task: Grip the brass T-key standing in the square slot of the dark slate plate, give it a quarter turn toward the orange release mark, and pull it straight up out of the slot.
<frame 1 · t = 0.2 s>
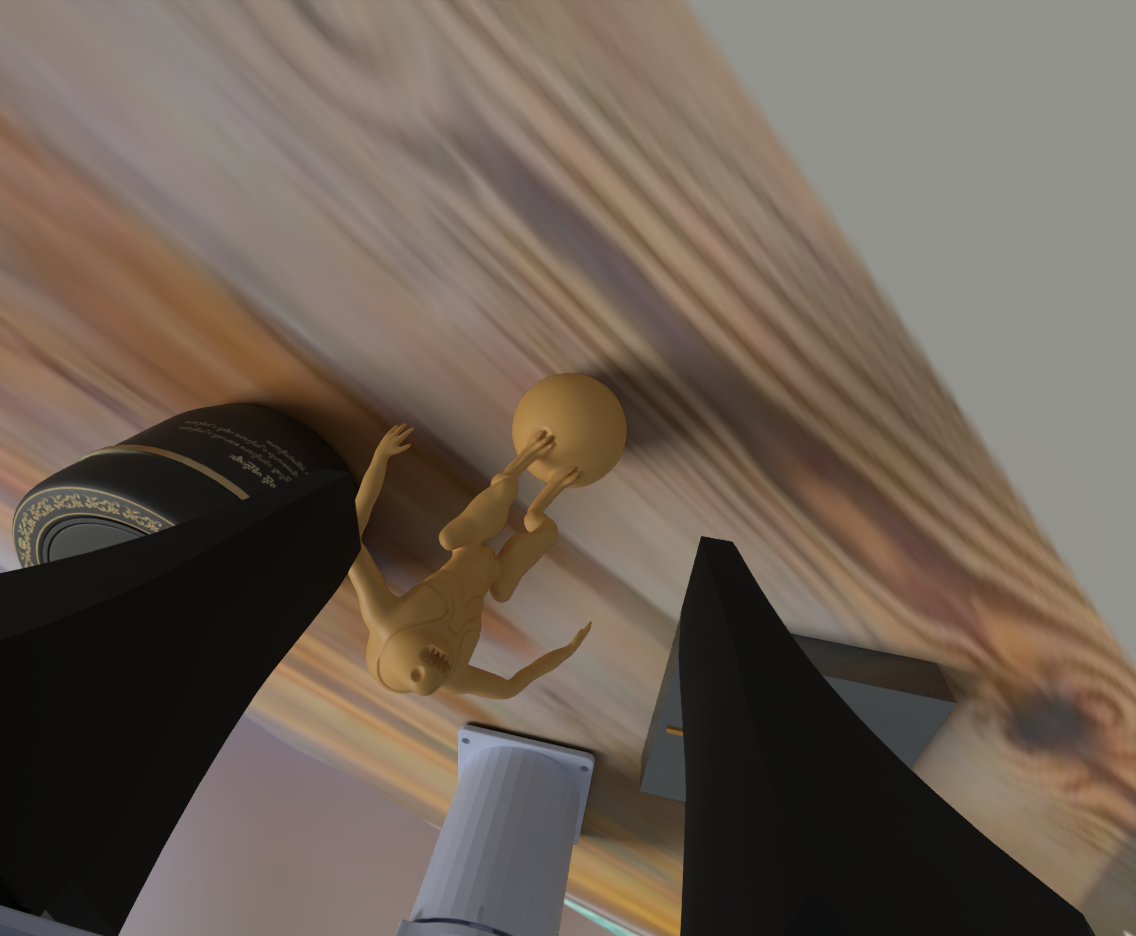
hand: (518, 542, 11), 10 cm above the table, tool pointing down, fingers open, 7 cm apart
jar: (280, 487, 26), on the table
figurine: (558, 417, 21), on the table, touching gripper
key plate: (770, 715, 27), on the table
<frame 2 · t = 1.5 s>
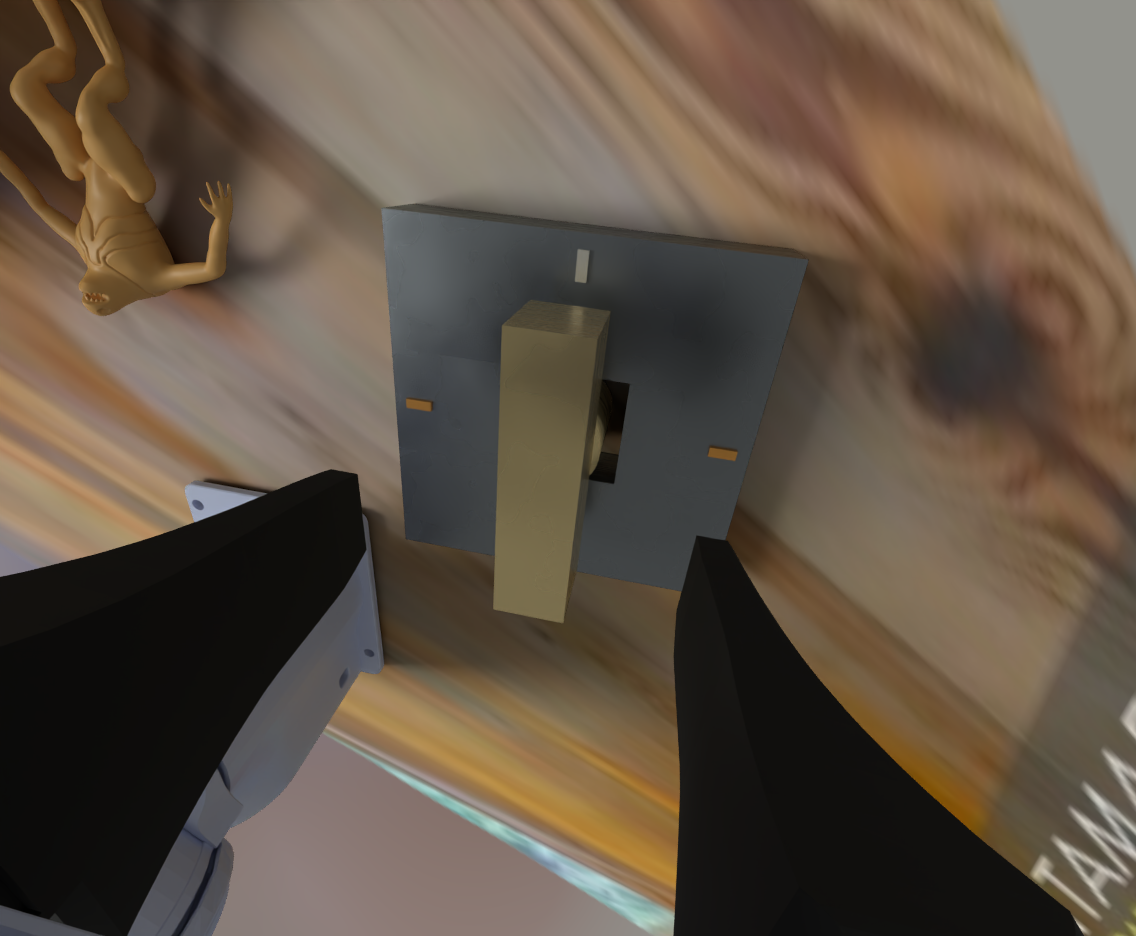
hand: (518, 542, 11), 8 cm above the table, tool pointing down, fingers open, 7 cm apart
t key: (560, 441, 16), in the key plate
key plate: (577, 403, 18), on the table
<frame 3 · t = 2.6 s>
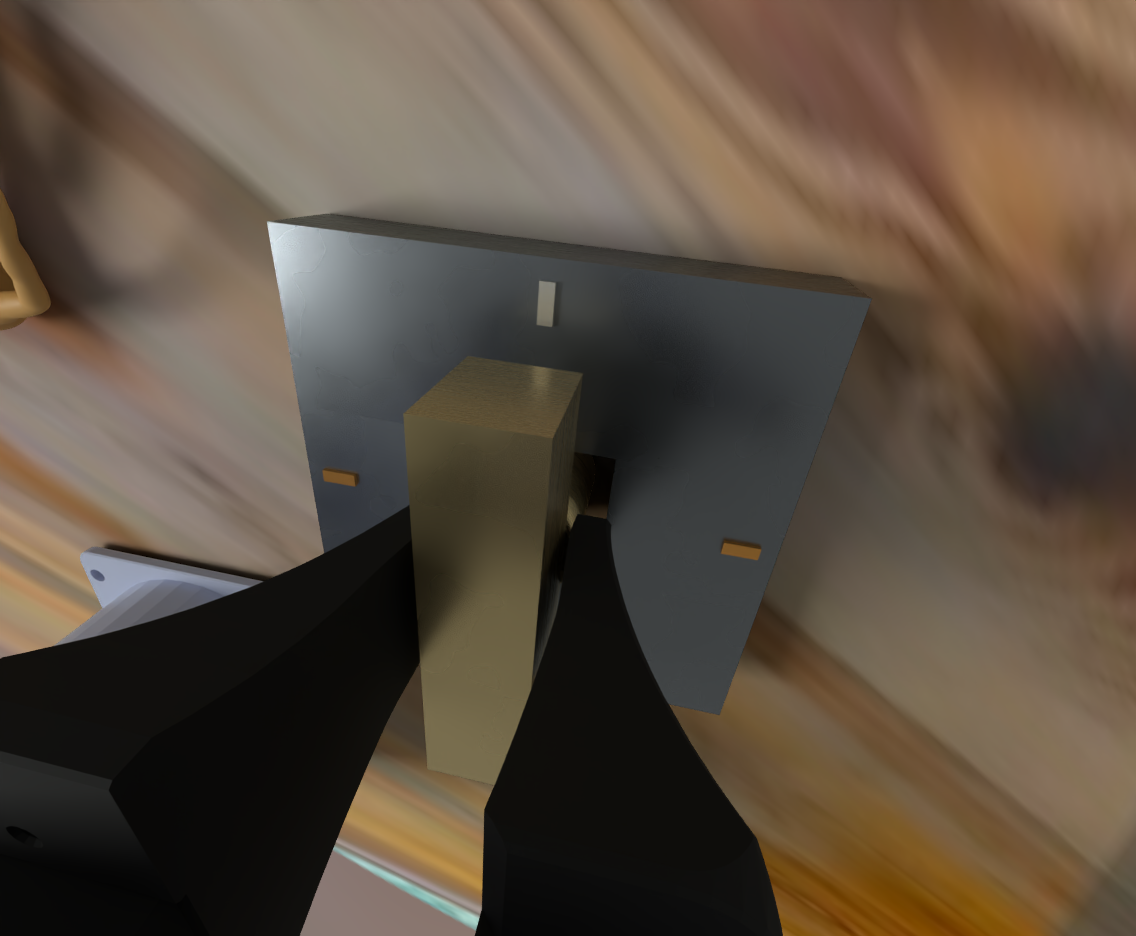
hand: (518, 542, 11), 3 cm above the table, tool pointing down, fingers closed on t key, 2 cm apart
t key: (521, 536, 12), in the key plate, touching gripper
key plate: (550, 469, 14), on the table
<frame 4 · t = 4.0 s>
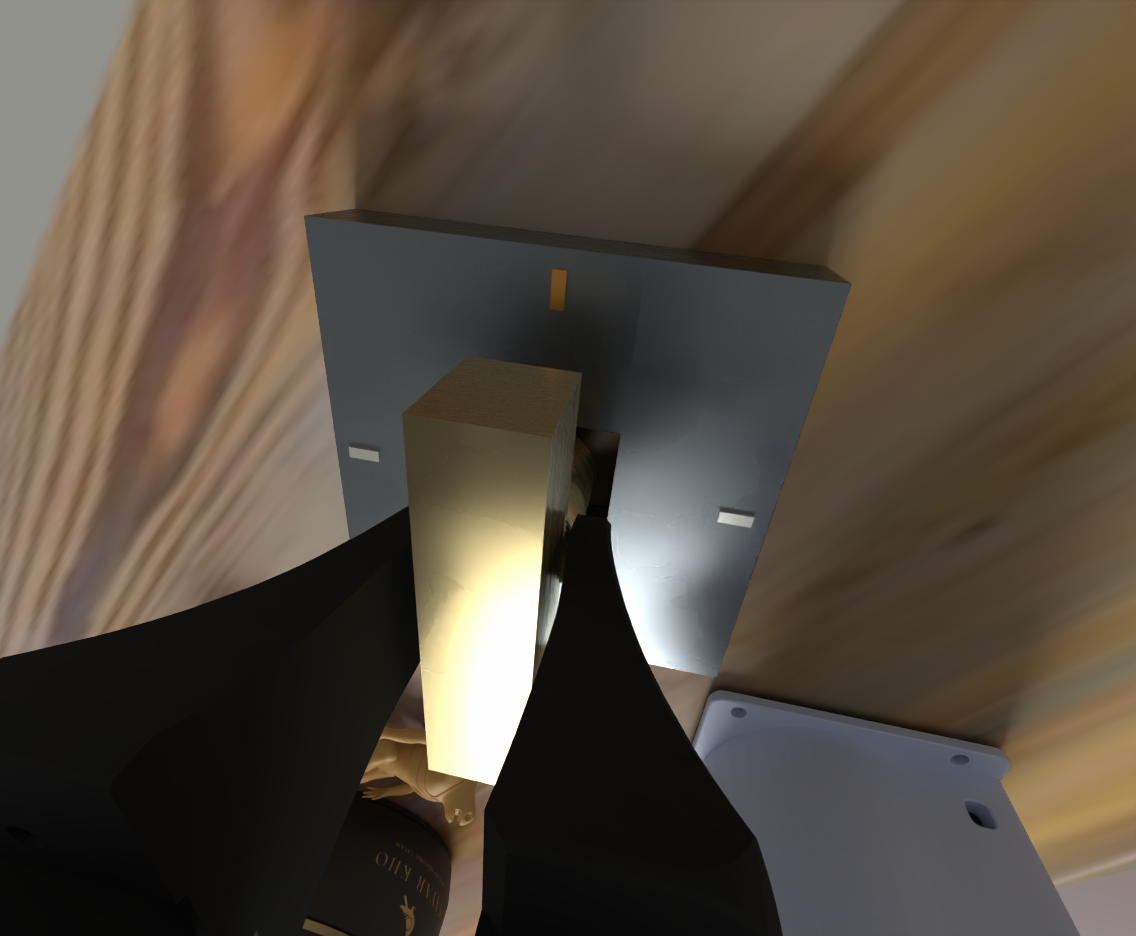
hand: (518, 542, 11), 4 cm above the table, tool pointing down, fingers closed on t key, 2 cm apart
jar: (374, 833, 29), on the table
figurine: (214, 673, 22), point 1 cm above the table
t key: (521, 536, 12), point 4 cm above the table, touching gripper
key plate: (558, 447, 15), on the table
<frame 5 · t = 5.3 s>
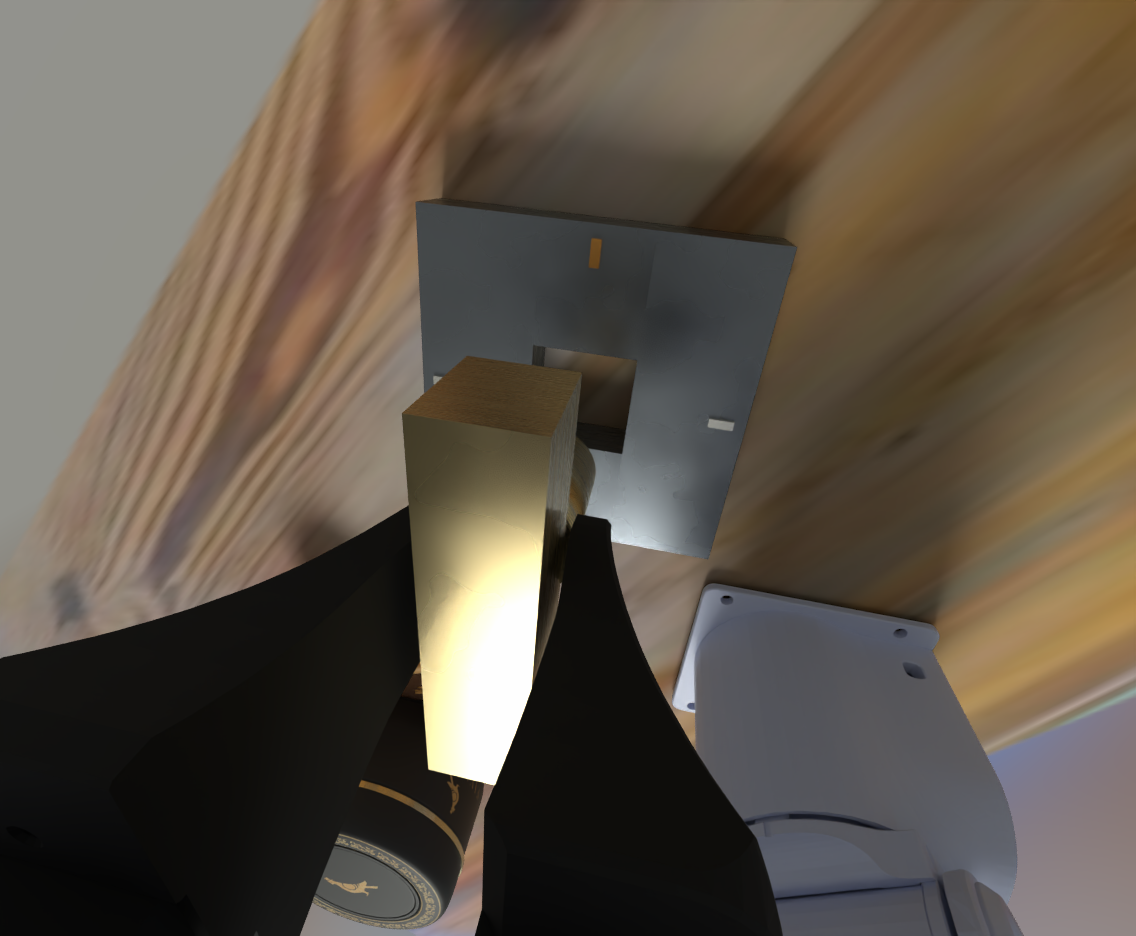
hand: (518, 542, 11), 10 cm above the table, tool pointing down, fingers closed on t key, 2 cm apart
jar: (417, 739, 33), on the table
t key: (521, 536, 12), point 10 cm above the table, touching gripper
key plate: (588, 381, 20), on the table
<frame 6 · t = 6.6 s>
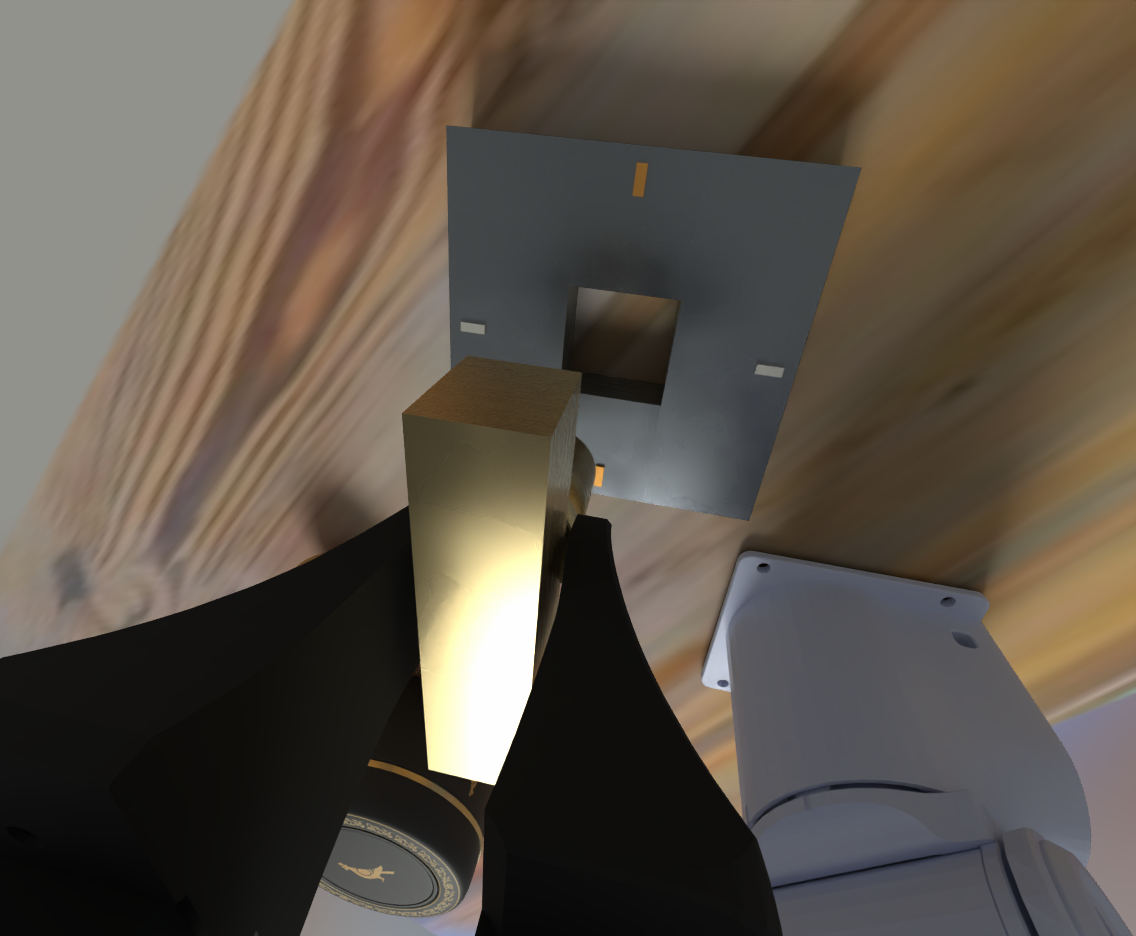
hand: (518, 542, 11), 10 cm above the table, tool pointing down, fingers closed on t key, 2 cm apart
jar: (432, 723, 32), on the table
t key: (521, 536, 12), point 10 cm above the table, touching gripper
key plate: (622, 331, 19), on the table
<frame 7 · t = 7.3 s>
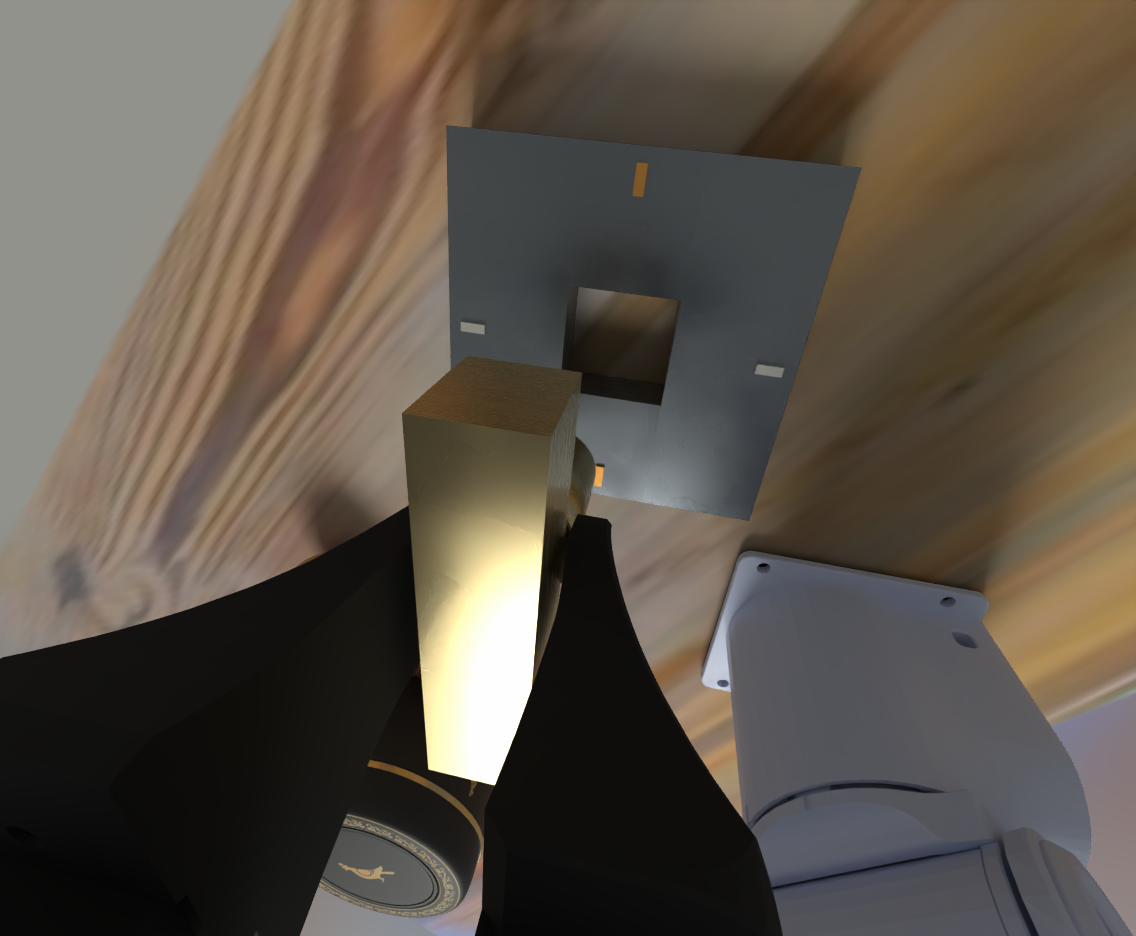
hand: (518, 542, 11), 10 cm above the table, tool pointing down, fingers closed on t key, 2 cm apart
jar: (431, 723, 32), on the table
t key: (521, 536, 12), point 10 cm above the table, touching gripper
key plate: (622, 331, 19), on the table
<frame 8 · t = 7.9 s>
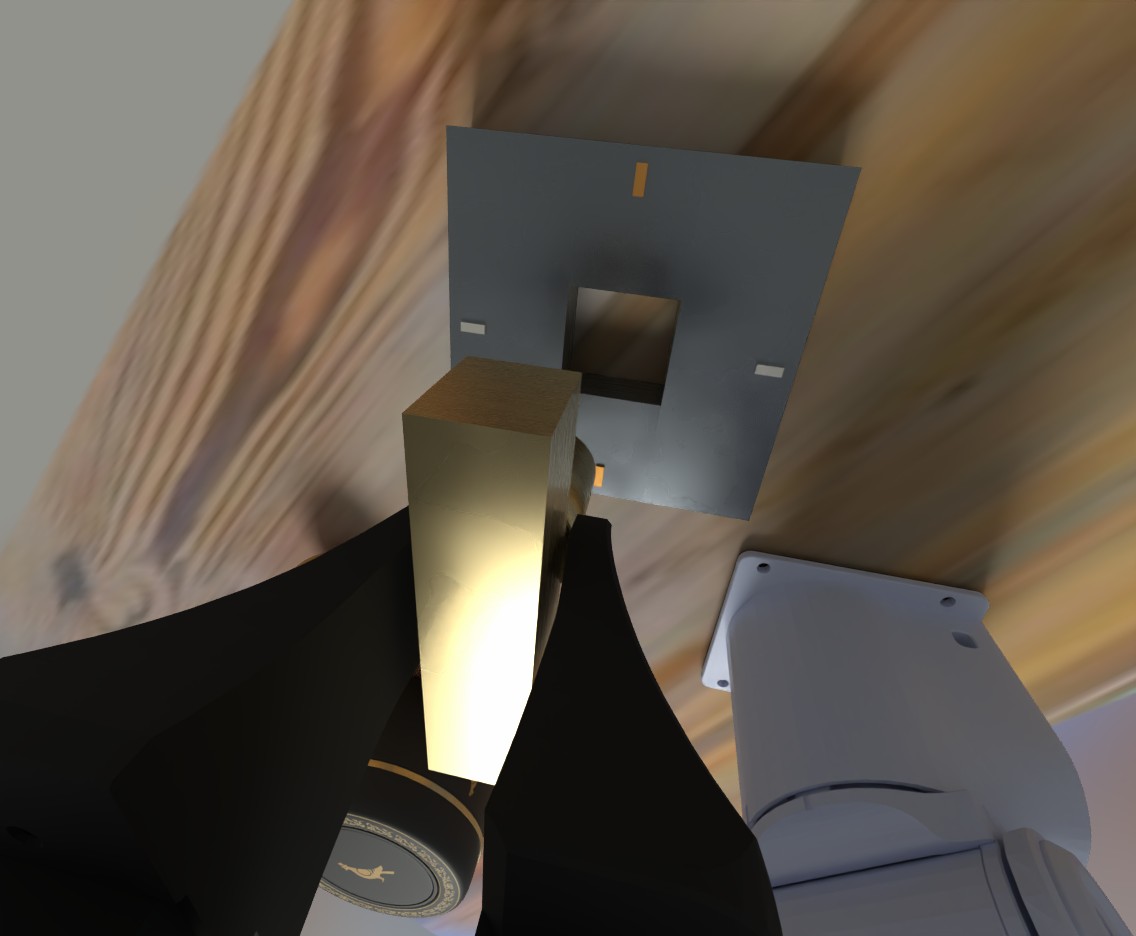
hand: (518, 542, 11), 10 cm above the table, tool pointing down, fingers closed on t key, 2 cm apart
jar: (431, 723, 32), on the table
t key: (521, 536, 12), point 10 cm above the table, touching gripper
key plate: (622, 331, 19), on the table
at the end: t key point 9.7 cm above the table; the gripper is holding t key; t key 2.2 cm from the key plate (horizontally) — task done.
